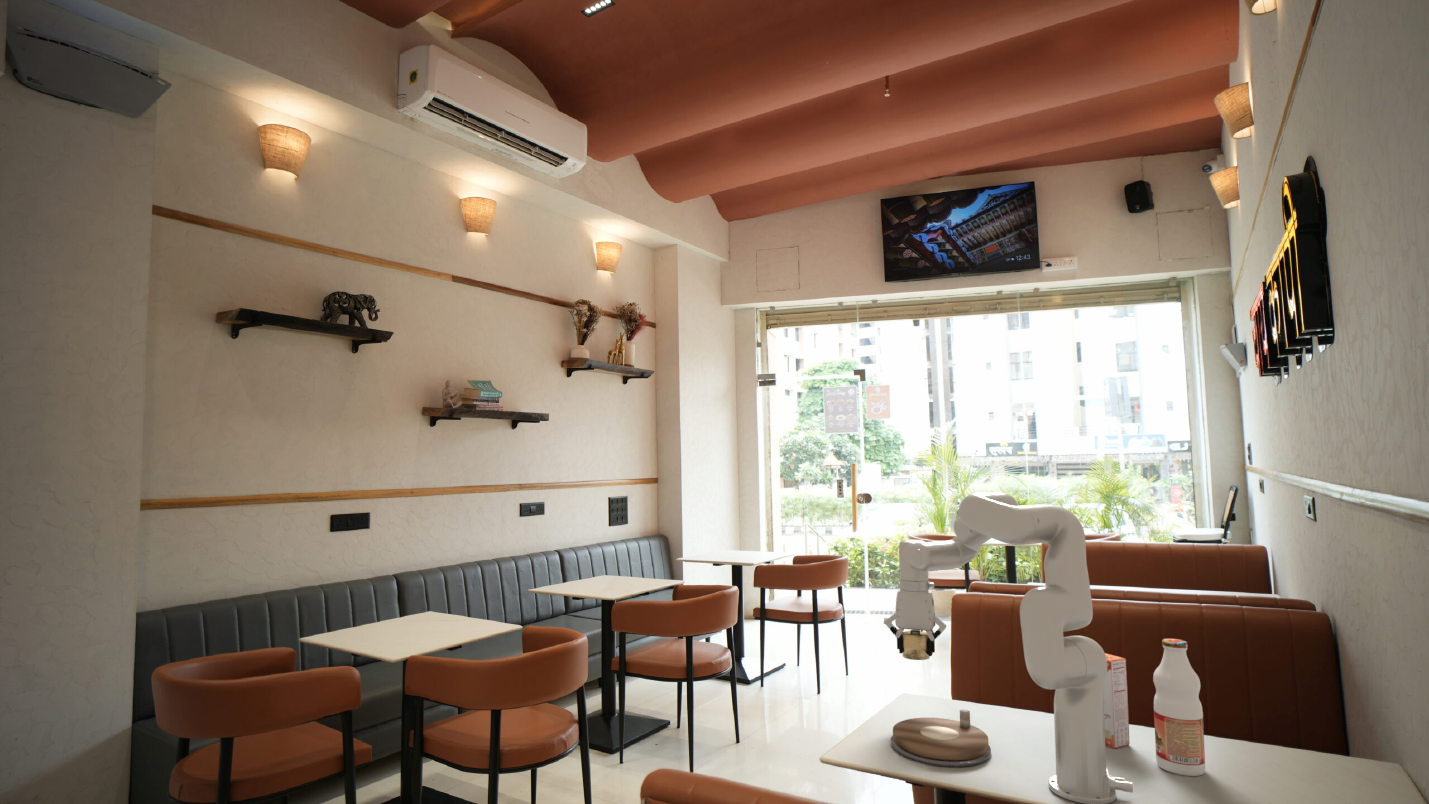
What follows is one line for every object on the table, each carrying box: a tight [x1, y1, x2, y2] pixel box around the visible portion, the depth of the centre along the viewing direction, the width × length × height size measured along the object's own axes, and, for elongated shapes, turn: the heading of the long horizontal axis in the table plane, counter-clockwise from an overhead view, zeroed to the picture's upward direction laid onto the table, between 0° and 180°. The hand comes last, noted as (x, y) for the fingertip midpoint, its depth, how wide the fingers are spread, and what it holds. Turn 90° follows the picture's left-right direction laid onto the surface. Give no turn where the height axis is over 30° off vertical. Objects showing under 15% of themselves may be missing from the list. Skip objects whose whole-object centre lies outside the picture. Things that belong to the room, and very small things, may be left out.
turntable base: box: [890, 734, 992, 769], centre depth 179 cm, size 23×23×1 cm
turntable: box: [892, 708, 990, 760], centre depth 179 cm, size 22×22×6 cm
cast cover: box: [902, 629, 931, 661], centre depth 200 cm, size 7×7×7 cm
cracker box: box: [1104, 652, 1130, 749], centre depth 186 cm, size 14×6×21 cm, turn 25°
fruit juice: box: [1152, 638, 1206, 777], centre depth 168 cm, size 9×9×28 cm
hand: (916, 652), depth 200 cm, fingers closed on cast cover, 7 cm apart
